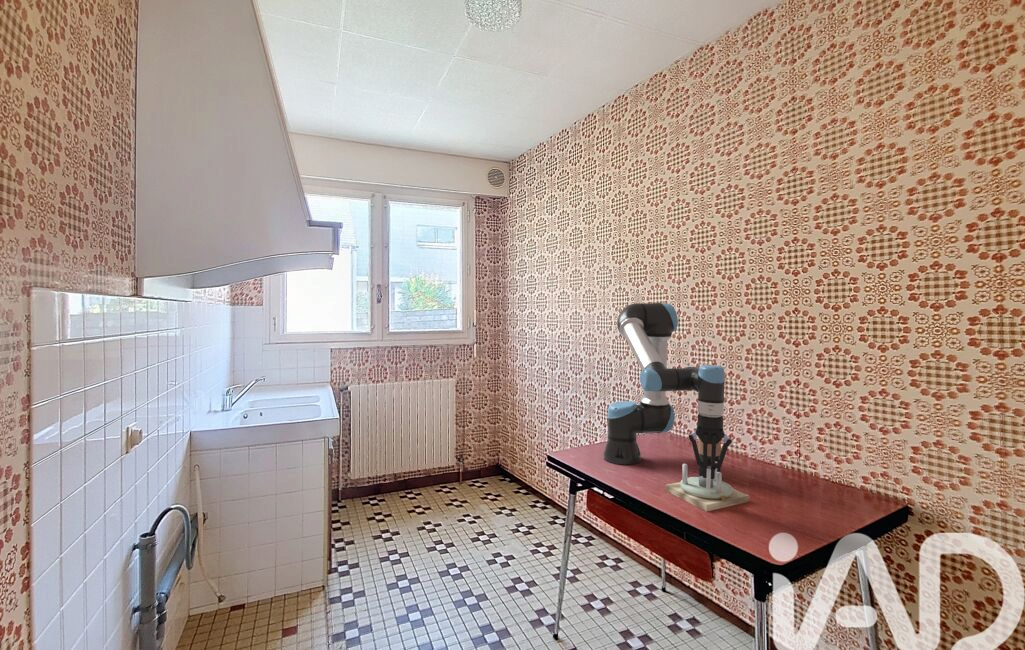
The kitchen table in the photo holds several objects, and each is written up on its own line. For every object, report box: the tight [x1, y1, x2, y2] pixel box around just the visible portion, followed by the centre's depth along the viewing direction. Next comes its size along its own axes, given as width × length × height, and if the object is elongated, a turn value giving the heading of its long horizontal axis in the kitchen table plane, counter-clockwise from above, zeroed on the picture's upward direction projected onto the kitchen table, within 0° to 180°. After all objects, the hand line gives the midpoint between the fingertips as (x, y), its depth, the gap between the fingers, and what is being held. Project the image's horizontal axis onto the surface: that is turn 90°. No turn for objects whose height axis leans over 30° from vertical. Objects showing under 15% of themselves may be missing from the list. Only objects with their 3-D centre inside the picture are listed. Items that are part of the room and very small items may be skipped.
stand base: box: [665, 481, 750, 513], centre depth 151 cm, size 18×18×3 cm
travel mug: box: [697, 438, 722, 477], centre depth 169 cm, size 8×8×20 cm
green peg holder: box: [679, 461, 734, 499], centre depth 151 cm, size 16×16×8 cm
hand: (708, 488), depth 145 cm, fingers closed
